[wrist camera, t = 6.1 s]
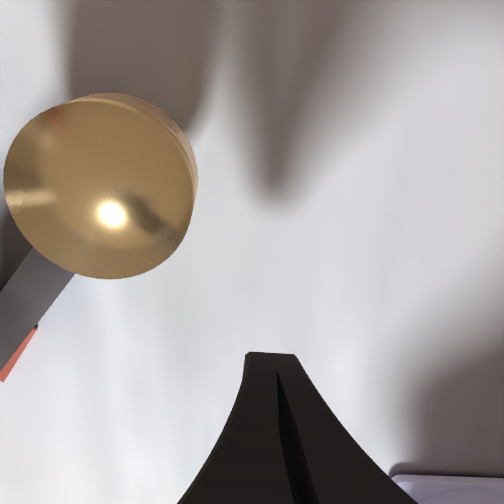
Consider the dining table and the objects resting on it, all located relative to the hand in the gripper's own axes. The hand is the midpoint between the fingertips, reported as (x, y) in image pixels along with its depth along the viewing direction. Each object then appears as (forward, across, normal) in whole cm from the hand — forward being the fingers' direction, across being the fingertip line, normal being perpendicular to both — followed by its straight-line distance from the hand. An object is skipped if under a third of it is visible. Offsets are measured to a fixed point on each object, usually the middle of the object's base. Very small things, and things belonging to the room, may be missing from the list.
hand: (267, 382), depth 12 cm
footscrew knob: (+5, +6, -2) cm, 8 cm away
